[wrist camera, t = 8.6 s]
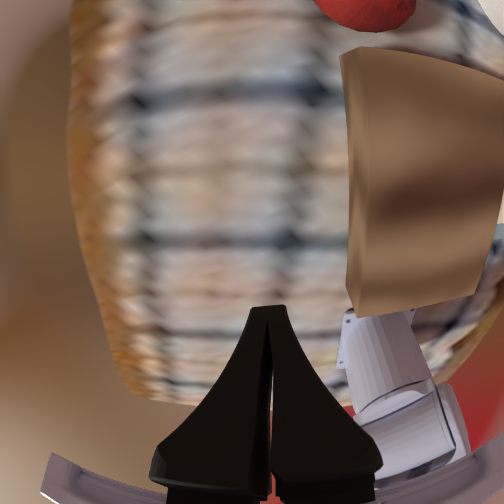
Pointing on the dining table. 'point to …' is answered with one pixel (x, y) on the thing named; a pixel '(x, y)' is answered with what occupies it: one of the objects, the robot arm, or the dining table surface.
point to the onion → (368, 13)
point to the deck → (419, 177)
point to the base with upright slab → (494, 12)
